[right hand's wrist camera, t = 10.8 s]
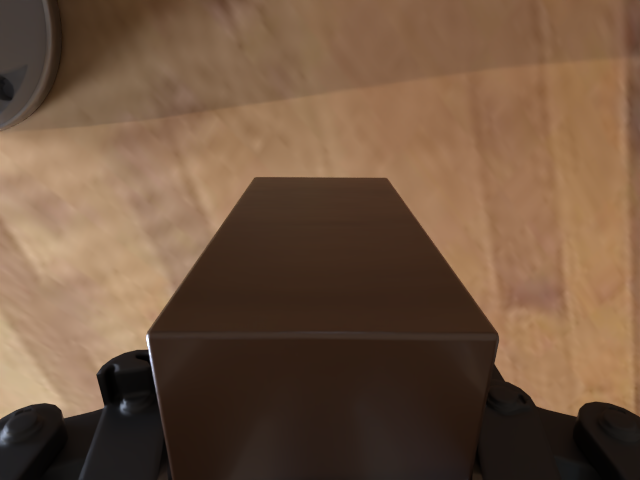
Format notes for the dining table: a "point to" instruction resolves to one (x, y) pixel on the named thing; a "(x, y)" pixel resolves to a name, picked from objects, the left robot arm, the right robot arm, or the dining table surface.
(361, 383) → the walnut beam
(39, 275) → the dining table surface
